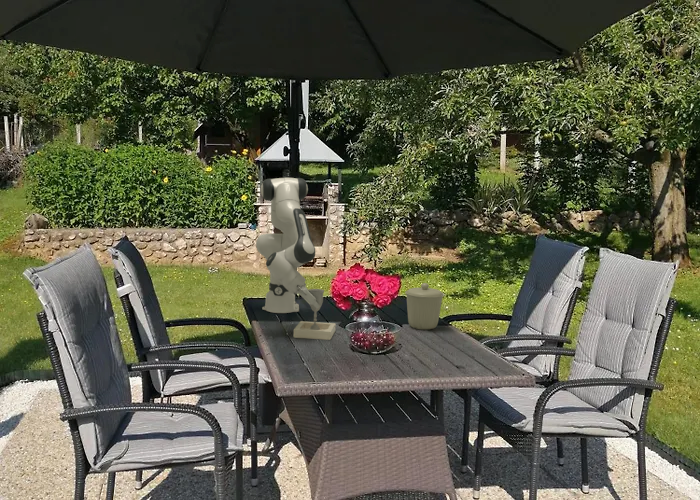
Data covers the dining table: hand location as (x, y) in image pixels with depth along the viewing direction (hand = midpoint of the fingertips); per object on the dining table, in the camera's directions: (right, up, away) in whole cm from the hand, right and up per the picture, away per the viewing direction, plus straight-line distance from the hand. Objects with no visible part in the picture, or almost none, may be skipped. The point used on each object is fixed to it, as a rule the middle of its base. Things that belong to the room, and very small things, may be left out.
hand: (317, 305), depth 301 cm
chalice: (-1, -11, +1) cm, 11 cm away
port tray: (-1, -13, +1) cm, 13 cm away
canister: (+49, -12, +22) cm, 55 cm away
